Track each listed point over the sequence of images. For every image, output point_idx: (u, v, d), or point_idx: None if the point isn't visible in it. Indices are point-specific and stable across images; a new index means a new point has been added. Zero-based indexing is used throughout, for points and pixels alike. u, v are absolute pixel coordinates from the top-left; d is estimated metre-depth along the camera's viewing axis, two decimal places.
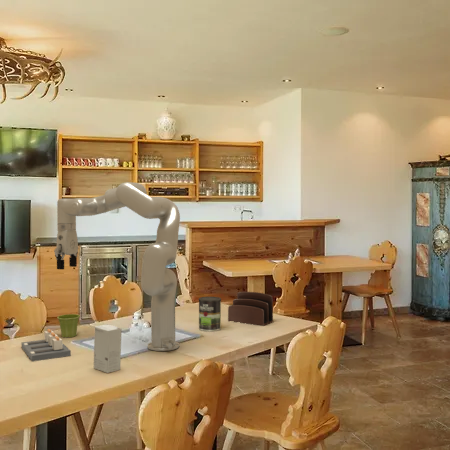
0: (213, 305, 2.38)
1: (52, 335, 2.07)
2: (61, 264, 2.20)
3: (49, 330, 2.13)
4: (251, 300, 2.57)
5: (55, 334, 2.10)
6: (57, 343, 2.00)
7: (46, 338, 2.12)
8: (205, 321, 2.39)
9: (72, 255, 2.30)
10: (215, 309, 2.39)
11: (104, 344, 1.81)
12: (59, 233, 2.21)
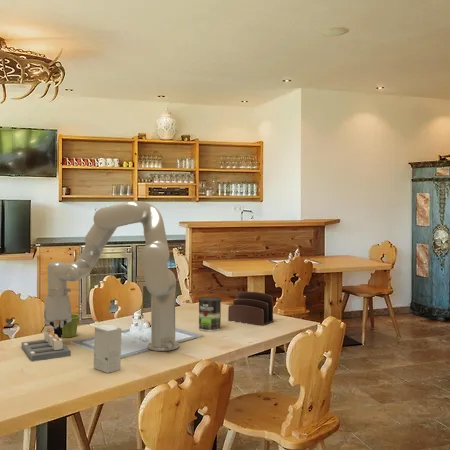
0: (213, 305, 2.38)
1: (52, 335, 2.07)
2: None
3: (49, 330, 2.13)
4: (251, 300, 2.57)
5: (55, 334, 2.10)
6: (57, 343, 2.00)
7: (46, 338, 2.12)
8: (205, 321, 2.39)
9: (56, 325, 2.15)
10: (215, 309, 2.39)
11: (104, 344, 1.81)
12: None
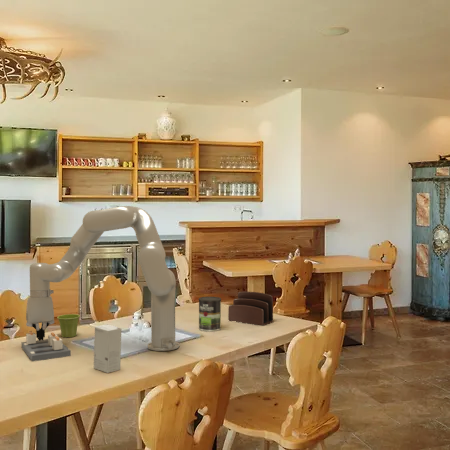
0: (213, 305, 2.38)
1: (52, 335, 2.07)
2: None
3: (31, 332, 2.10)
4: (251, 300, 2.58)
5: (55, 334, 2.10)
6: (57, 343, 2.00)
7: (28, 340, 2.08)
8: (205, 321, 2.39)
9: None
10: (215, 309, 2.39)
11: (104, 344, 1.81)
12: (51, 298, 2.14)
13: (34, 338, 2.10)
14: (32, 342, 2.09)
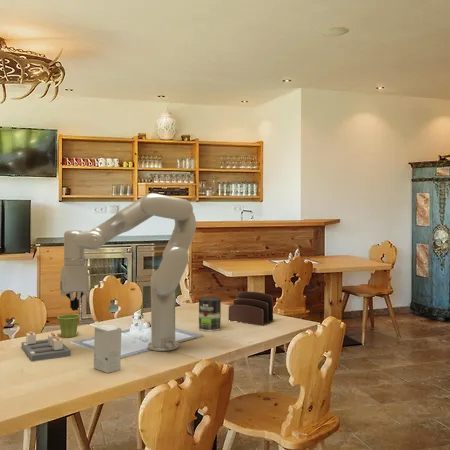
0: (213, 305, 2.38)
1: (52, 335, 2.07)
2: None
3: (31, 332, 2.09)
4: (251, 300, 2.58)
5: (55, 334, 2.10)
6: (57, 343, 2.00)
7: (28, 340, 2.08)
8: (205, 321, 2.39)
9: None
10: (215, 309, 2.39)
11: (104, 344, 1.81)
12: None
13: (34, 338, 2.10)
14: (32, 342, 2.09)
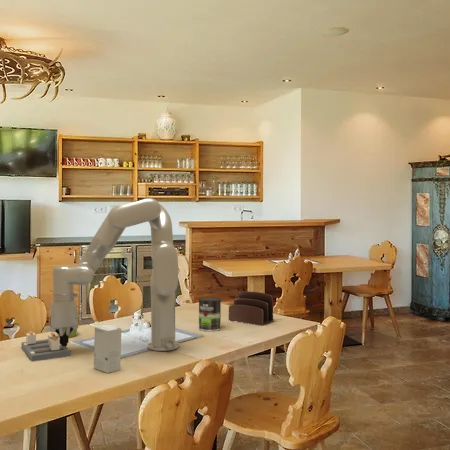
0: (213, 305, 2.38)
1: (52, 335, 2.07)
2: None
3: (31, 332, 2.09)
4: (251, 300, 2.58)
5: (55, 334, 2.10)
6: (54, 343, 2.00)
7: (28, 340, 2.08)
8: (205, 321, 2.39)
9: (62, 333, 2.03)
10: (215, 309, 2.39)
11: (104, 344, 1.81)
12: (75, 302, 2.04)
13: (34, 338, 2.10)
14: (32, 342, 2.09)
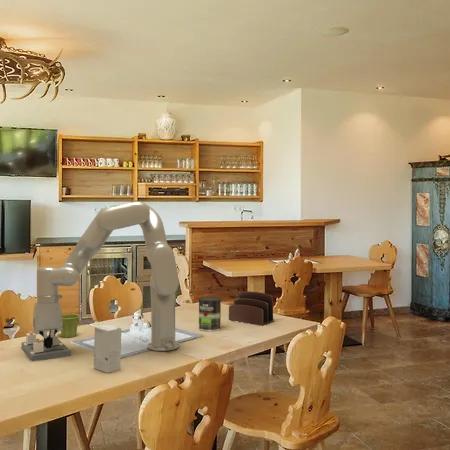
0: (213, 305, 2.38)
1: None
2: None
3: (31, 332, 2.09)
4: (251, 300, 2.58)
5: (55, 334, 2.10)
6: (38, 345, 1.97)
7: (28, 340, 2.08)
8: (205, 321, 2.39)
9: (46, 335, 2.00)
10: (215, 309, 2.39)
11: (104, 344, 1.81)
12: None
13: (34, 338, 2.10)
14: (32, 342, 2.09)
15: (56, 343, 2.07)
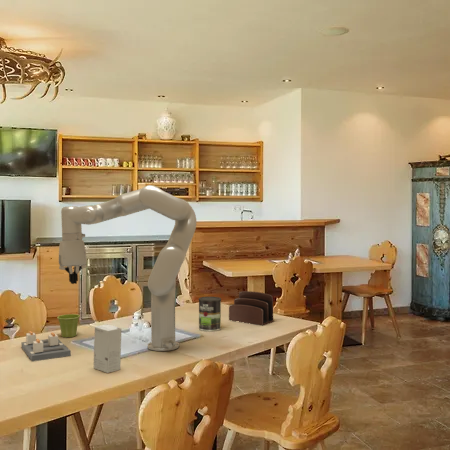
0: (213, 305, 2.38)
1: (52, 335, 2.07)
2: None
3: (31, 332, 2.09)
4: (251, 300, 2.58)
5: (55, 334, 2.10)
6: (38, 345, 1.97)
7: (28, 340, 2.08)
8: (205, 321, 2.39)
9: None
10: (215, 309, 2.39)
11: (104, 344, 1.81)
12: (83, 242, 2.13)
13: (34, 338, 2.10)
14: (32, 342, 2.09)
15: (56, 343, 2.07)
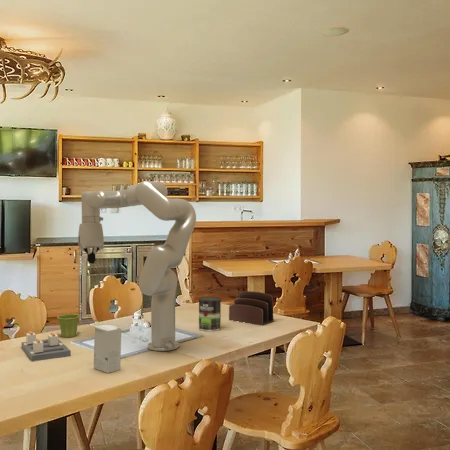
0: (213, 305, 2.38)
1: (52, 335, 2.07)
2: None
3: (31, 332, 2.09)
4: (252, 300, 2.58)
5: (55, 334, 2.10)
6: (38, 345, 1.97)
7: (28, 340, 2.08)
8: (205, 321, 2.39)
9: None
10: (215, 309, 2.39)
11: (104, 344, 1.81)
12: (101, 225, 2.28)
13: (34, 338, 2.10)
14: (32, 342, 2.09)
15: (56, 343, 2.07)
